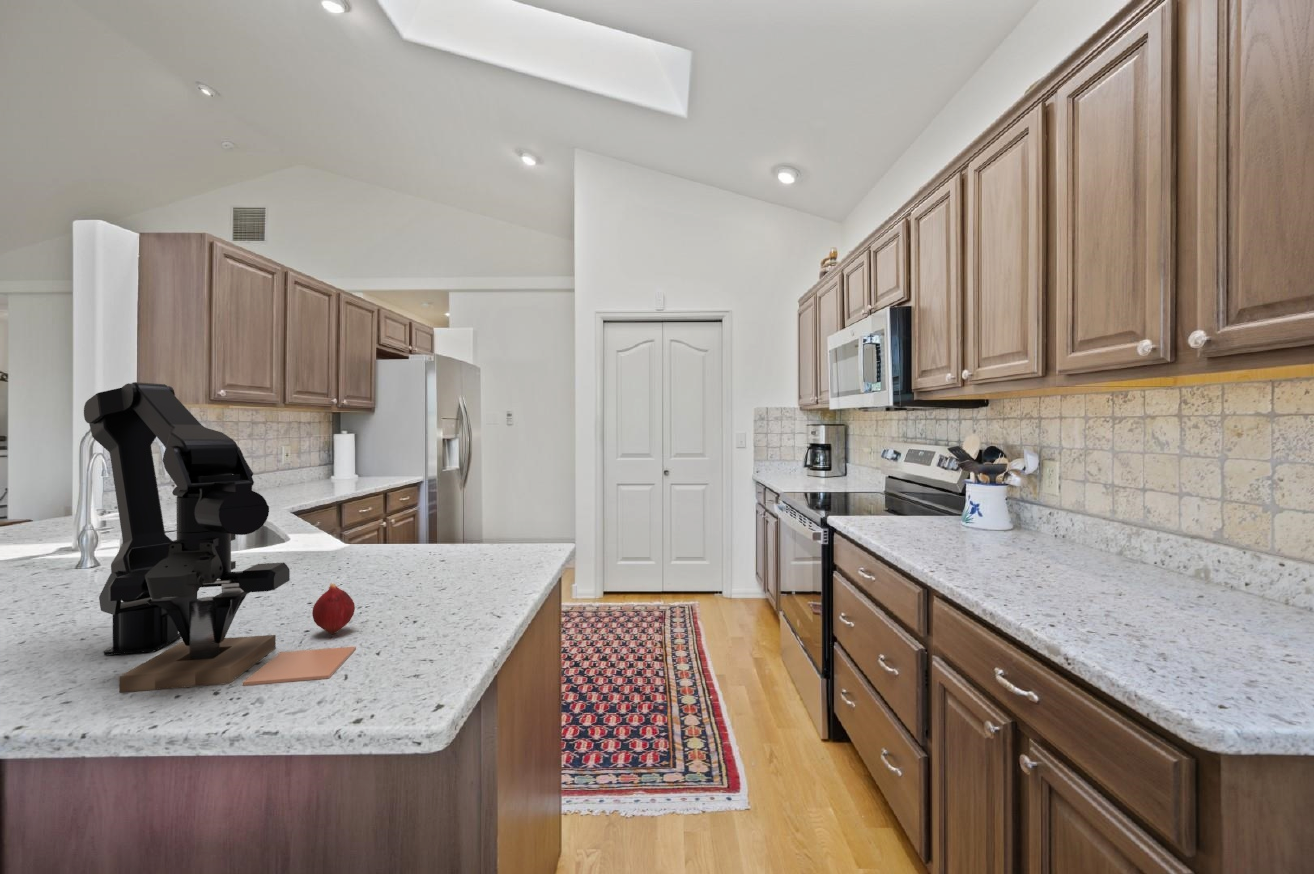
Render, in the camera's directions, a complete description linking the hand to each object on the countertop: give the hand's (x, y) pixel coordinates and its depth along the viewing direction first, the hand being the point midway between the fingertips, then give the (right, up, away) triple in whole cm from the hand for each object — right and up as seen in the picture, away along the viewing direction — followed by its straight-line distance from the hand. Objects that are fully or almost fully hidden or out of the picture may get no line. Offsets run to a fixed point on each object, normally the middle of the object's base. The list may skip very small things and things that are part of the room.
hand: (204, 643), depth 74 cm
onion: (+10, -4, +13) cm, 17 cm away
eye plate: (0, -3, 0) cm, 3 cm away
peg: (0, -3, 0) cm, 3 cm away
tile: (+13, -3, +1) cm, 14 cm away
